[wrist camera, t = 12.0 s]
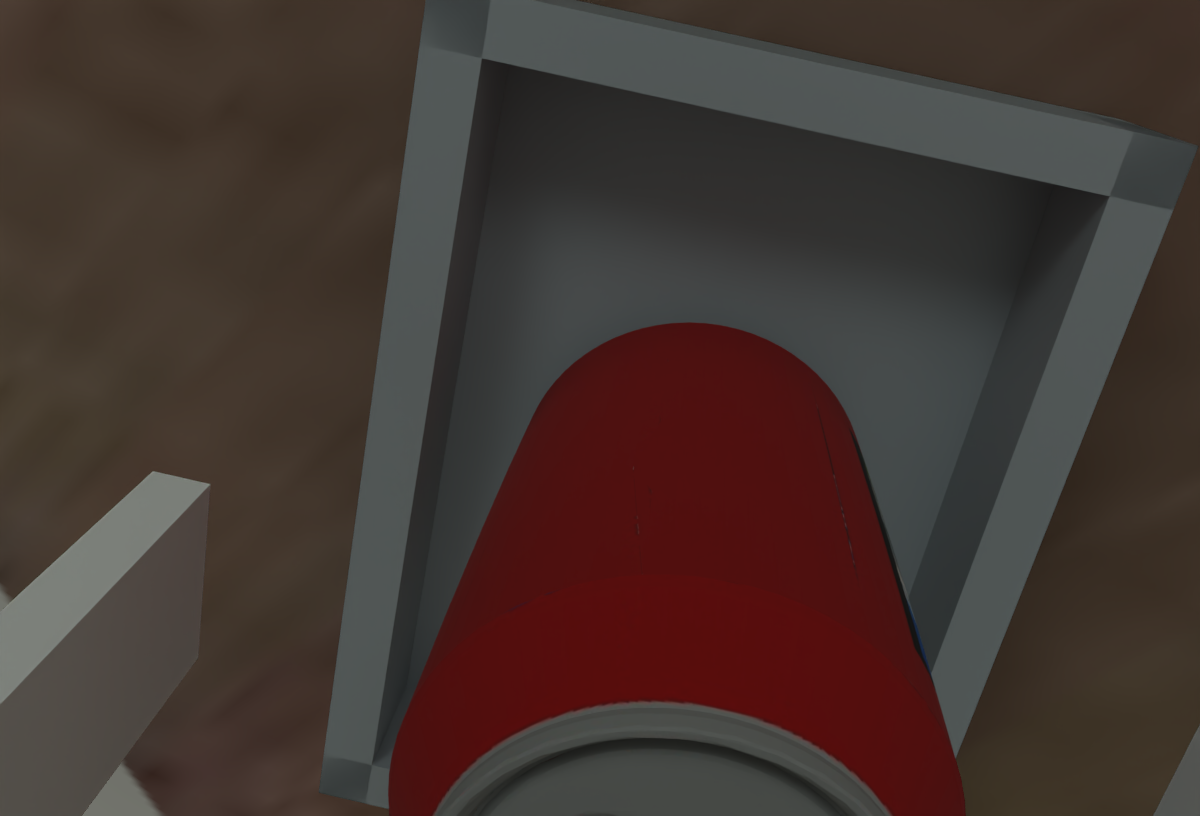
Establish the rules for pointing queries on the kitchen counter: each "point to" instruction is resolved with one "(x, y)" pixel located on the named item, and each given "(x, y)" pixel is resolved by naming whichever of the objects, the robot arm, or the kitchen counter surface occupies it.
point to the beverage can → (680, 609)
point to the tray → (736, 299)
